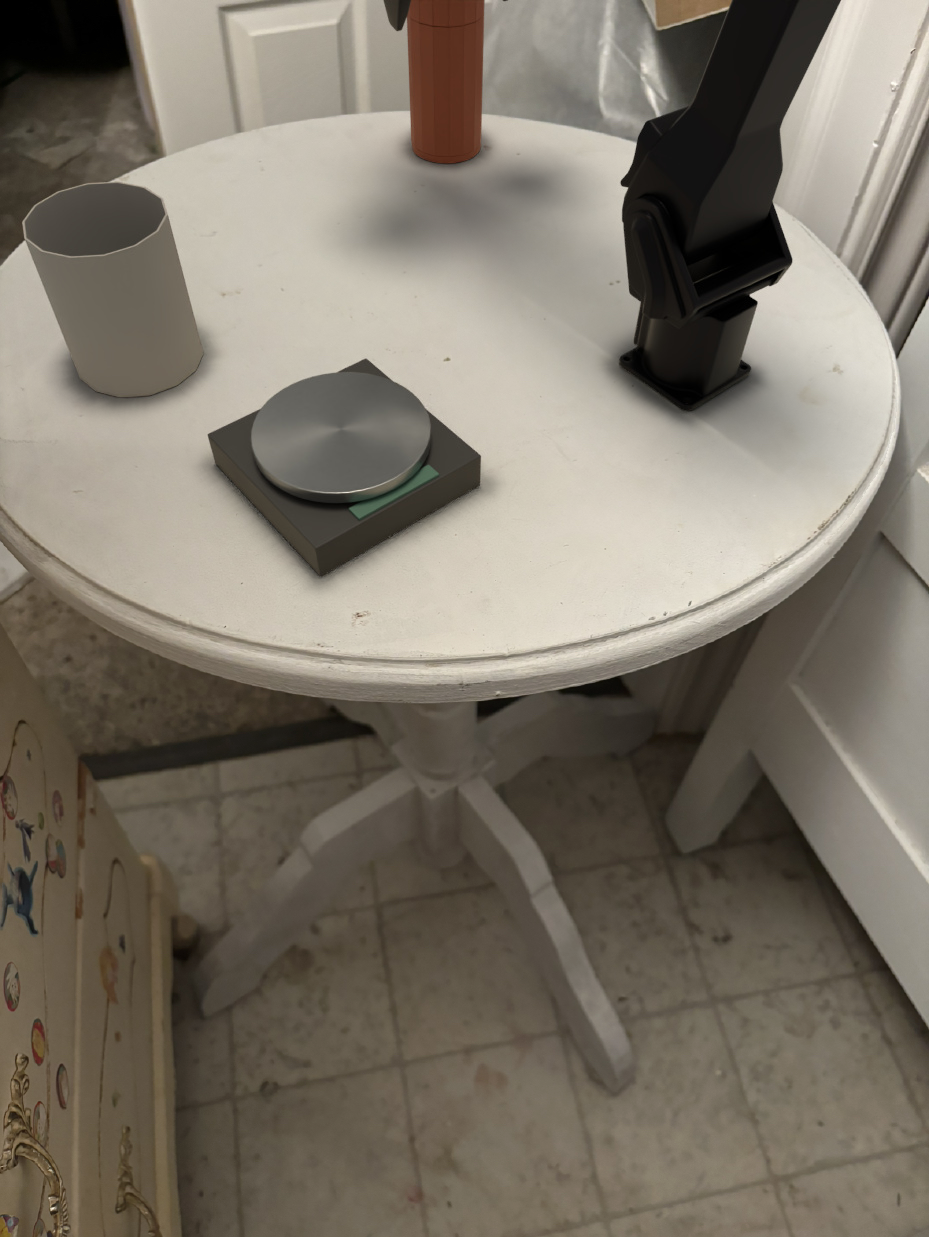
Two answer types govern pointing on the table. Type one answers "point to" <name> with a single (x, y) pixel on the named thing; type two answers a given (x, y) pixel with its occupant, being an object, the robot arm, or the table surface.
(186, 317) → the cup
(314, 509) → the scale
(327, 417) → the scale pan
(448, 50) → the jar
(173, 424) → the table surface
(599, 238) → the table surface
